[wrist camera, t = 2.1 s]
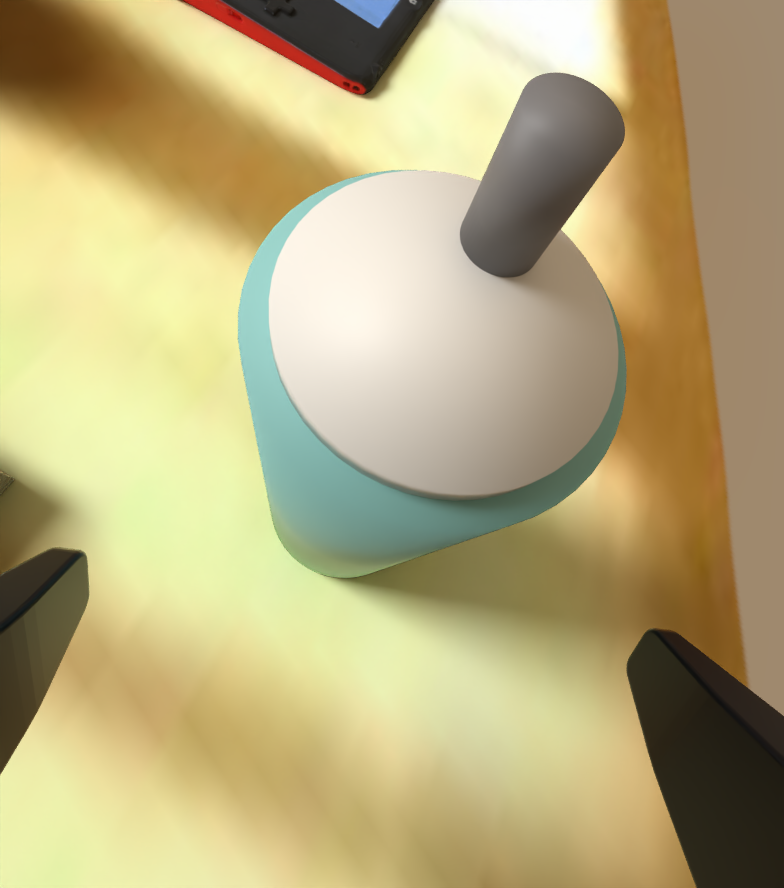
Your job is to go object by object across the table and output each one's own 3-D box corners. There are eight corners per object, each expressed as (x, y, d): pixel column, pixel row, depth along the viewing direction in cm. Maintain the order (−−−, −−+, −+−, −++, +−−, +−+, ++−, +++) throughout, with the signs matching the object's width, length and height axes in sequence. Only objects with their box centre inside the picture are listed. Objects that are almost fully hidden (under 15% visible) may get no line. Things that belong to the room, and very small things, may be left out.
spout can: (373, 607, 18) (685, 627, 4) (240, 527, 18) (58, 251, 4) (441, 478, 20) (819, 176, 6) (321, 406, 20) (405, -80, 6)
